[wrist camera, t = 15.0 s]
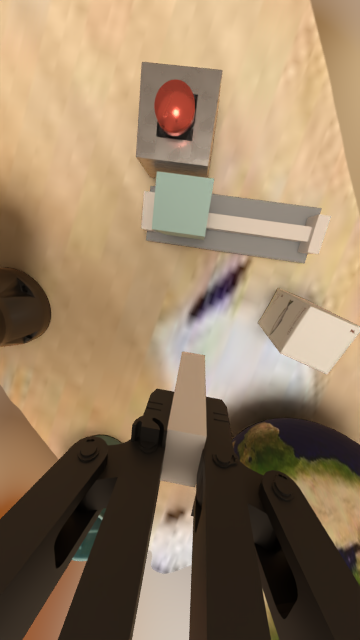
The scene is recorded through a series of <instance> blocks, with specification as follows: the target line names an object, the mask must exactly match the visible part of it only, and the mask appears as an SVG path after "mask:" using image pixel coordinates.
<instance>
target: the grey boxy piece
mask: <svg viewBox="0 0 360 640" xmlns="http://www.w3.org/2000/svg"><path fill="white" fill-rule="evenodd" d="M174 79H177V80H181V81H183V82H185V83H186V84H187V85H188V86H189V87H190V89H191V90H192V92H193V95H194V100H195V117H194V120H193V123H192V125H191V130H192V141H186V140H177V139H169V138H168V135H167V133H165V132H164V131H163V130H162V129H161V127H160V125H159V123H158V120H157V118H156V114H155V109H154V103H155V97H156V94H157V92H158V90H159V89H160V87H161V86H162V85H163V84H164V83H166V82H167V81H170V80H174ZM221 79H222V70H216V69H206V68H197V67H187V66H177V65H168V64H158V63H148V62H142V69H141V85H140V101H139V117H138V134H137V150H136V158H137V159H138V160H139V162H140V163H141V165H142V166H143V167H144V169H145V170H146V172H147V173H148V174H149V176H150V177H152V178H156V175H157V171H158V172H166V173H174V174H182V175H189V176H197V177H205V178H208V173H209V166H210V160H211V153H212V147H213V140H214V134H215V127H216V121H217V114H218V105H219V97H220V88H221Z"/></svg>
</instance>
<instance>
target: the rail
mask: <svg viewBox="0 0 360 640" xmlns="http://www.w3.org/2000/svg"><path fill="white" fill-rule="evenodd" d="M155 187H156V186H151V188H150V192H148V191H144V199H143V212H142V226H141V229H143V230H146V231H147V236H146V240H147V241H154V242H161V243H168V244H175V245H181V246H188V247H195V248H202V249H209V250H216V251H223V252H230V253H237V254H243V255H250V256H257V257H264V258H271V259H278V260H285V261H292V262H299V263H305V260H306V257H307V254H319V252H320V249H321V246H322V243H323V240H324V237H325V234H326V230H327V227H328V224H329V221H330V218H331V216H328V215H320V212H321V209H322V208H315V207H307V206H299V205H292V204H284V203H277V202H269V201H262V200H254V199H247V198H239V197H231V196H224V195H216V194H212V196H211V202H210V208H209V214H208V220H207V226H206V232H205V238H204V240H200V239H193V238H186V237H179V236H172V235H165V234H163V233H160V232H158V231H155V230H153V229H152V220H153V209H154V198H155Z"/></svg>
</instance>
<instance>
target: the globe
mask: <svg viewBox="0 0 360 640" xmlns="http://www.w3.org/2000/svg"><path fill="white" fill-rule="evenodd" d="M232 444H233V449H234V452H235V453H236V454H237V456H238V458H239V460H240V461H241V462H242V463H243V464H244V465H245V466H246V467H248V468H250V469H251V470H253V471H255V472H257V473H259V474H261V475H264V474H265V473H266V472H267V471H270V470H275V471H280V472H282V473H284V474H286V475H288V476H289V477H290V478H291V479H292V480H294V482H295V483H296V484H297V485H298V487H299V488H300V489H301V491H302V493H303V494H304V496H305V498H306V499H307V501H308V502H309V504H310V506H311V507H312V509H313V510H314V512H315V514H316V515H317V517H318V519H319V520H320V522H321V523H322V525H323V527H324V528H325V530H326V532H327V533H328V535H329V536H330V538H331V540H332V541H333V543H334V545H335V546H336V548H337V549H338V551H339V553H340V554H341V556H342V558H343V559H344V561H345V562H346V564H347V566H348V567H349V569H350V571H351V572H352V574H353V575H354V577H355V579H356V580H357V582H358V584H359V585H360V445H359V444H358V443H356V442H355V441H353V440H352V439H350V438H348V437H347V436H345V435H343V434H341V433H339V432H337V431H336V430H333V429H331V428H329V427H326V426H324V425H321V424H318V423H315V422H311V421H307V420H302V419H295V418H276V419H270V420H265V421H262V422H259V423H256V424H254V425H252V426H250V427H248V428H246V429H245V430H243V431H242V432H241V433H239V434H238V435H237V436H236V437H235V438H234V439H233V440H232ZM262 590H263V589H262ZM263 596H264V601H265V607H266V613H267V619H268V624H269V630H270V636H271V640H279V637H278V634H277V631H276V628H275V625H274V622H273V619H272V616H271V613H270V610H269V607H268V604H267V601H266V598H265V595H264V592H263Z"/></svg>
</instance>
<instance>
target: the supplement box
mask: <svg viewBox="0 0 360 640" xmlns="http://www.w3.org/2000/svg"><path fill="white" fill-rule="evenodd" d="M258 324H259V325H260V327H261V328H262V329H263V331H264V332H265V333H266V335H267V336H268V337H269V339H270V340H271V341H272V343H273V344H274V345H275V347H276V348H277V349H278V351H279V352H280V354H283V355H285V356H287V357H290V358H292V359H294V360H296V361H299V362H301V363H303V364H305V365H307V366H309V367H312V368H314V369H316V370H318V371H320V372H322V373H324V374H328V373H329V372H330V371H331V369H332V368H333V367H334V365H335V364H336V363H337V361H338V360H339V359H340V358H341V356H342V355H343V354H344V353H345V351H346V350H347V348H348V347H349V346H350V345H351V343H352V342H353V341H354V339H355V338H356V337H357V335H358V334H359V333H360V326H358V325H356V324H354V323H352V322H350V321H348V320H346V319H344V318H342V317H340V316H338V315H336V314H334V313H332V312H330V311H328V310H326V309H324V308H322V307H320V306H318V305H316V304H314V303H311V302H309V301H307V300H305V299H303V298H301V297H299V296H296V295H294V294H292V293H289V292H287V291H284V290H282V289H280V288H278V289H277V291H276V293H275V295H274V297H273V299H272V300H271V302H270V304H269V306H268V307H267V309H266V311H265V312H264V314H263V316H262V317H261V319H260V320H259V322H258Z"/></svg>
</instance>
